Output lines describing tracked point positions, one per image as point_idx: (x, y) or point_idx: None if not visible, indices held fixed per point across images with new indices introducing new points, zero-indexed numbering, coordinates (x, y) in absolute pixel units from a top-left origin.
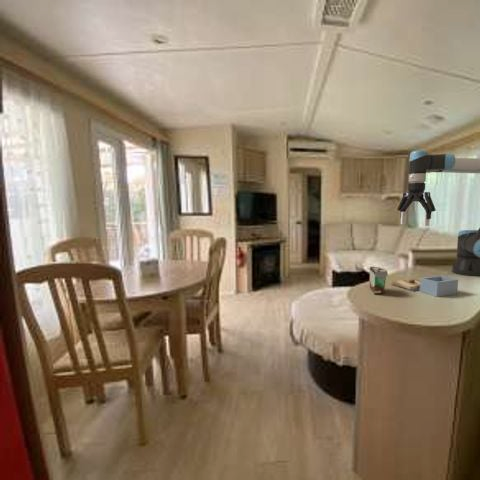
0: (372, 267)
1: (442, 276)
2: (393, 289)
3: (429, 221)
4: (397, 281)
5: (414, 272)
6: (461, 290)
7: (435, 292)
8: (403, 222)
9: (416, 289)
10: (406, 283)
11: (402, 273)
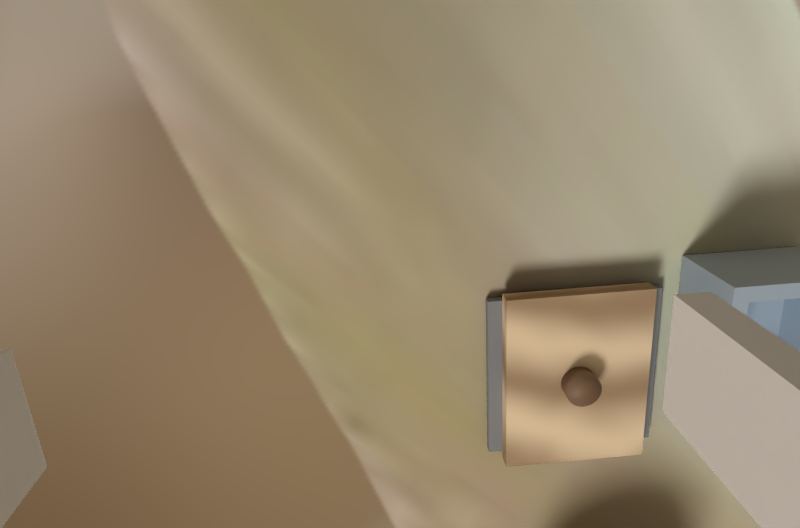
0: None
1: (760, 298)
2: (570, 496)
3: (783, 342)
4: (520, 440)
5: (233, 5)
6: (775, 158)
7: None
8: (7, 454)
9: (650, 414)
10: (579, 425)
11: (239, 145)
